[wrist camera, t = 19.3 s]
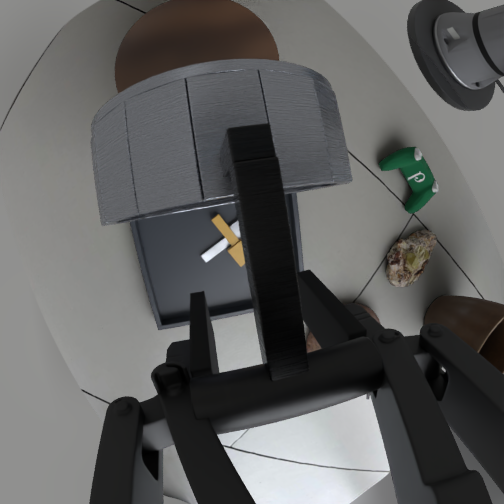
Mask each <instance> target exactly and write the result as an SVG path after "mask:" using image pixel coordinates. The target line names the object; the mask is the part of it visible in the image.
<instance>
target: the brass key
mask: <svg viewBox="0 0 504 504" xmlns="http://www.w3.org/2000/svg"><path fill="white" fill-rule="evenodd" d="M211 221H212V222H213V223H214V224H215V226H216V227H217V228H218V229H219V231H220V232H221V233H222V234H223V236H224V237H225V238H226V239H227V241H228V242H229V243H230V244H231V247H230V248H228V249H227V251H228V252H229V254H230V255H231V256H232V257H233V258H234V260H235V261H236V262H237V263H238V264H239V266H240V267H242V266H243V265H244V264H245V259H244V253H243V247H242V242H241V239H240V240H239V239H238V238H237V236H236V235H235V234H234V233H233V231H232V230H231V229H230V228H229V226H228V225H227V224H226V223H225V221H224V220H223V219H222V217H221V216H220V215H219V214H217V215H216V216H215V217H213V218H212V219H211Z"/></svg>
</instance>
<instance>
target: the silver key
mask: <svg viewBox="0 0 504 504" xmlns="http://www.w3.org/2000/svg"><path fill="white" fill-rule="evenodd" d="M229 228H230V229H231V230H232V231H233V233H234V234H235V235H236V236H237V238H238V239H239V240H240V239H241V236H240V230H239V224H238V219H237V220H236V221H234V222H233V223H232V224H230V225H229ZM229 245H230V243H229V242H228V241H227V239H226V238H225V237H223V238H222V239H221V240H219V241H218V242H217V243H216V244H214V245H213V246H212V247H210V248H209V249H208V250H206V251H205V252H204V253H202V254H201V257H202V258H203V259H204V261H205V262H208V261H209V260H210V259H212V258H213V257H214V256H216V255H217V254H218V253H220V252H221V251H222V250H224V249H225V248H226V247H228V246H229Z"/></svg>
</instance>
